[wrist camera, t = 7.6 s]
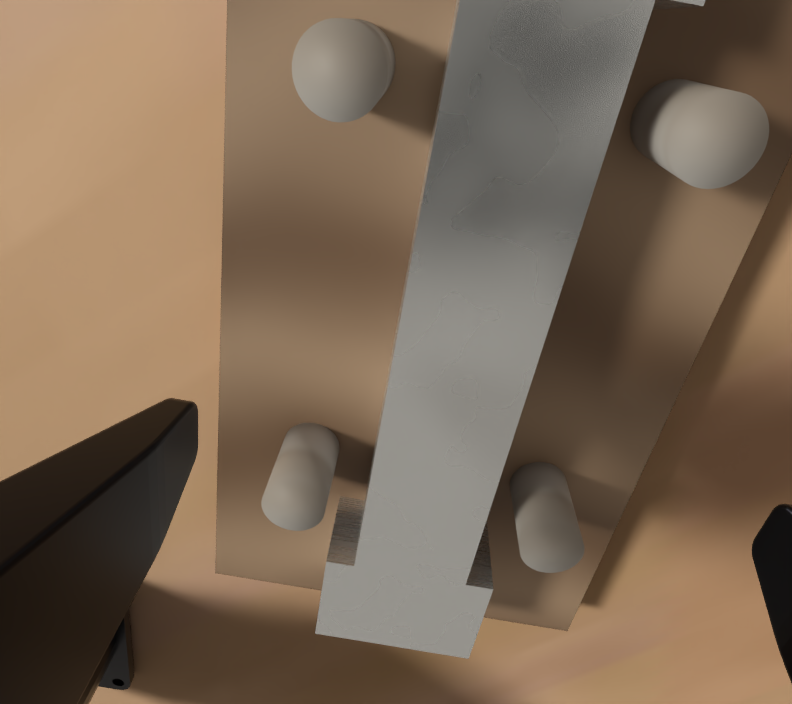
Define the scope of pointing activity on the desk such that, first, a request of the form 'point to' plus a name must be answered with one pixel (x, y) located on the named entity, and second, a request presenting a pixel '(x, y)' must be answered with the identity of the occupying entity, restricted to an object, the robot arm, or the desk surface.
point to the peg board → (388, 261)
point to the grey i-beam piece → (477, 308)
